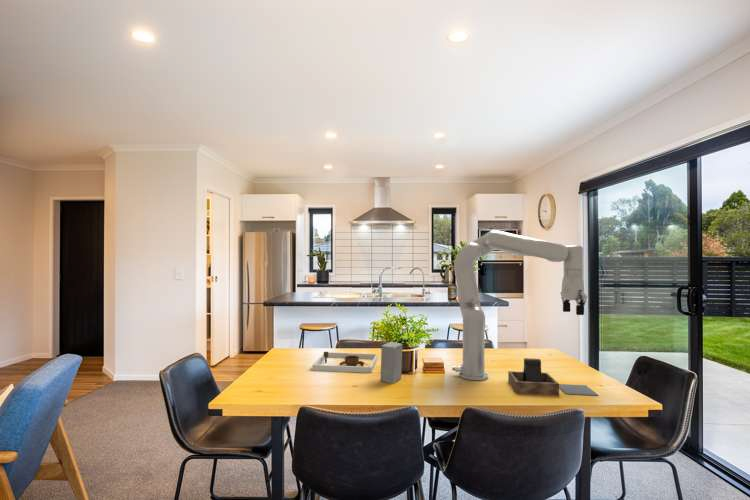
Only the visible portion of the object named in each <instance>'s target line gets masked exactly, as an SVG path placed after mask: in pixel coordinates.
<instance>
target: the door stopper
mask: <svg viewBox="0 0 750 500" xmlns="http://www.w3.org/2000/svg"><path fill="white" fill-rule="evenodd" d="M522 372H523V382H542V373H543V372H542V359H540V358H523V371H522Z"/></svg>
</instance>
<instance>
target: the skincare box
mask: <svg viewBox="0 0 750 500" xmlns="http://www.w3.org/2000/svg"><path fill="white" fill-rule="evenodd" d="M380 353H381V354H380V355H381V356H380V382H383V383H387V384H392V385H393V384H395V383H397V382H398V381H400V380H402V370H403V369H402V368H403V367H402V364H403V343H399V342H395V341H389V342H387V343H385V344H381V352H380Z"/></svg>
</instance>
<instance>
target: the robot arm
mask: <svg viewBox="0 0 750 500" xmlns="http://www.w3.org/2000/svg"><path fill="white" fill-rule="evenodd" d="M495 250H496V251H499V252H505V253H510V254H513V255H517V256H522V257H523V256H524V257H535V258H540V259H544V260H547V261H548V262H552V263H560V262H563V277H562V282H561V291H560V295H561V297H560V298H561V302H562V312H563V313H570V312H571V301H575V302H576V306H575V315H577V316H584V315H585V306H586V302H587V299H588V296H587V294H586V293H585V285H584V248H583V246H582V245H579V244H578V245H577V244H571V245H570V244H568V245H563V244H560V243H558V242H552V241H548V240H542V239H537V238H532V237H529V236H524V235H521V234H515V233H511V232H506V231H502V230H496V229H493V230H490V231H488V232H486V233H484V234H483V235H481V236H480V237H478V238H476V239H474V240H473V241H471V242H468V243H467V244H465V245H463V247H462V248H461V249H460V250H459V251H458V252H457V254H456V256H455V259H454V263H453V267H454V275H455V281H456V286H457V289H456V294H457V298H458V302H459V303H458V304H459V307H460V308H459V309H460V312H461V318H462V364H461V365H459V366H452V368H451V370H452V371H453V372H456V373H458V376H459V377H460V378H461V379H464V380H468V381H485V380H487V379H489V374H488V373H487V372H485V330H486V329H485V327H486V315H485V312H484V310H483V309H482V307H481V306H482V305H481V301H480V297H479V295H480V291H479V287H478V284H477V280H476V274H475V269H474V268H475V267H474V266H475V263H476V261H478V260H479V259H480V258H482V257H484V256H486V255H488V254H489V253H491V252H493V251H495Z"/></svg>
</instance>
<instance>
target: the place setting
mask: <svg viewBox="0 0 750 500" xmlns="http://www.w3.org/2000/svg"><path fill="white" fill-rule="evenodd" d="M328 352H329V351H324V352H323V354H324V358H325V360H324V364H328V363H327V361H328V359H327V358H329V357H328ZM344 365H345V366H358V365H359V366H361V367H365V366H364V365H368V364H367V363H365V362H364V361H361V360H360V359H359V357H358V356H346V357H345V358H344V361H341V362H339V366H344Z"/></svg>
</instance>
